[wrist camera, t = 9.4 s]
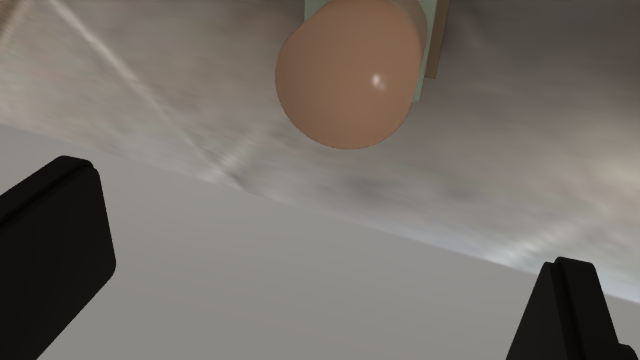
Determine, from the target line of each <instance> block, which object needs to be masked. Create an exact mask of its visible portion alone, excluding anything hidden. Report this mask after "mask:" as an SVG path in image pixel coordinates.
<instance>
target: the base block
mask: <svg viewBox="0 0 640 360" xmlns="http://www.w3.org/2000/svg"><path fill="white" fill-rule="evenodd" d="M449 4H450V0H437V6H436V12H435V18H434V23H433V29H432V35H431V41H430V47H429V53H428V58H427V64H426V70H425V75H424V77H427V78H434V79H435V78H436V72H437V67H438V62H439V57H440V51H441V46H442V41H443V36H444V30H445V25H446V20H447V15H448V9H449Z"/></svg>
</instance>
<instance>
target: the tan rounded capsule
mask: <svg viewBox="0 0 640 360" xmlns="http://www.w3.org/2000/svg"><path fill="white" fill-rule="evenodd" d="M427 37H428V27H427V20H426V16H425V13H424V11H423V8H422V6H421V5H420V3H419V1H418V0H329V1H328V2H327V3H325V4H324V5H323V6H322V7H321V8H320V9H319V10H318V11H317V12H315V13H314V14H313V15H312V16H311V17H310V18H309V19H308V20H307V21H305V22H304V23H303V24H302V25H301V26H300V27H299V28H298V29H297V30H295V31H294V32H293V33H292V34H291V36H290V37H289V38H288V39H287V41H286V42H285V44H284V45H283V47H282V49H281V51H280V54H279V56H278V60H277V64H276V71H275V83H276V90H277V94H278V98H279V100H280V103H281V106H282V108H283V109H284V111H285V113H286V115H287V116H288V118H289V119H290V120H291V122H292V123H293V124H294V125H295V126H296V127H297V128H298V129H299V130H300V131H301V132H302V133H304V134H305V135H307V136H308V137H309V138H311V139H313V140H315V141H316V142H319V143H321V144H323V145H326V146H330V147H333V148H339V149H360V148H365V147H368V146H371V145H374V144H377V143H379V142H381V141H383V140H384V139H386V138H387V137H389V136H390V135H391V134H392V133H394V132H395V131H396V130H397V129H398V127H399V126H400V125H401V124H402V122H403V121H404V119H405V118H406V116H407V114H408V112H409V110H410V107H411V104H412V100H413V96H414V92H415V88H416V84H417V80H418V76H419V72H420V68H421V64H422V60H423V56H424V52H425V48H426V43H427Z"/></svg>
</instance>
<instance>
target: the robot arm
mask: <svg viewBox="0 0 640 360" xmlns="http://www.w3.org/2000/svg"><path fill="white" fill-rule="evenodd" d="M115 268H116V258H115V253H114V248H113V243H112V238H111V233H110V228H109V222H108V217H107V212H106V207H105V202H104V197H103V191H102V186H101V181H100V176H99V173H98V171H97V170H96V169H95V168H94V167H93V165H92V163H91V162H90V161H88V160H85V159H80V158H75V157H70V156H59V157H57V158H56V159H54V160H53V161H51V162H50V163H48V164H47V165H45V166H44V167H42V168H41V169H39V170H38V171H37V172H35V173H33V174H32V175H30V176H29V177H27V178H26V179H24V180H23V181H21V182H20V183H18V184H17V185H15V186H14V187H12V188H11V189H9V190H8V191H6V192H5V193H3V194H2V195H0V360H36V359H37V358H38V357H39V356H40V355H41V354H42V353H43V352H44V351H45V350H46V349H47V347H48V346H49V345H50V344H51V343H52V342H53V341H54V340H55V339H56V337H57V336H58V335H59V334H60V333H61V332H62V331H63V330H64V329H65V328H66V326H67V325H68V324H69V323H70V322H71V321H72V320H73V319H74V318H75V317H76V316H77V314H78V313H79V312H80V311H81V310H82V309H83V308H84V307H85V306H86V305H87V303H88V302H89V301H90V300H91V299H92V298H93V297H94V296H95V294H96V293H97V292H98V291H99V290H100V289H101V288H102V287H103V286H104V285H105V284H106V283H107V281H108V280H109V279H110V278H111V277H112V275H113V273H114V271H115ZM506 360H638V357H637V355H636V353H635V351H634V350H633V349H632V348H631V347H630V346H629V345H624V344H620V343H619V342H618V339H617V336H616V332H615V329H614V326H613V323H612V320H611V317H610V313H609V310H608V307H607V304H606V301H605V298H604V295H603V291H602V288H601V285H600V282H599V279H598V276H597V273H596V269H595V267H594V265H593V264H592V263H589V262H584V261H580V260H575V259H570V258H565V257H558V258H557V259H556V260H555V262H554V263H550V262H545V263H544V264H543V266H542V268H541V271H540V273H539V276H538V278H537V281H536V283H535V286H534V289H533V291H532V294H531V296H530V299H529V301H528V304H527V306H526V309H525V312H524V314H523V317H522V319H521V322H520V324H519V327H518V329H517V332H516V334H515V337H514V339H513V342H512V344H511V347H510V350H509V352H508V355H507V357H506Z"/></svg>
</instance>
